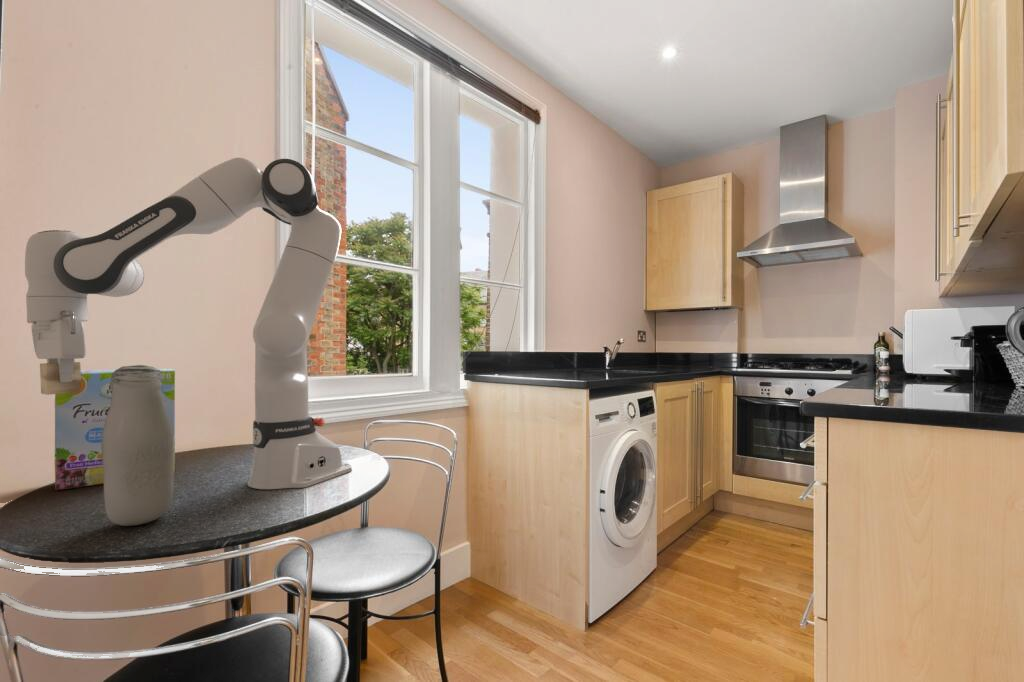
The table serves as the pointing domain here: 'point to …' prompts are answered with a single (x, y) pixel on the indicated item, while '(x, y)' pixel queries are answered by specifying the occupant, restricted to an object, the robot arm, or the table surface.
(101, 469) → the snack box
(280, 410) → the robot arm
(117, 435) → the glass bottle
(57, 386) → the maple block
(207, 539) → the table surface
